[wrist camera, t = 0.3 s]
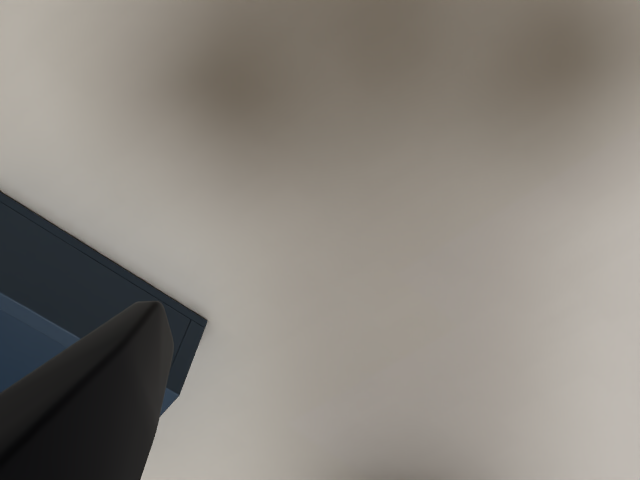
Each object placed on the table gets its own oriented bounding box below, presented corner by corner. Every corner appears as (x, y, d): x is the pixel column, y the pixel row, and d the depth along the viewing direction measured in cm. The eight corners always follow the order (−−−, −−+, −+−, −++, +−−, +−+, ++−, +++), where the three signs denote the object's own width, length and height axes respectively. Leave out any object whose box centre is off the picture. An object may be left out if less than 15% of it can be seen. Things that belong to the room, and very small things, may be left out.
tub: (208, 320, 28) (179, 395, 24) (93, 452, 33) (53, 533, 29) (-35, 169, 25) (-120, 223, 20) (-119, 341, 30) (-202, 414, 26)
